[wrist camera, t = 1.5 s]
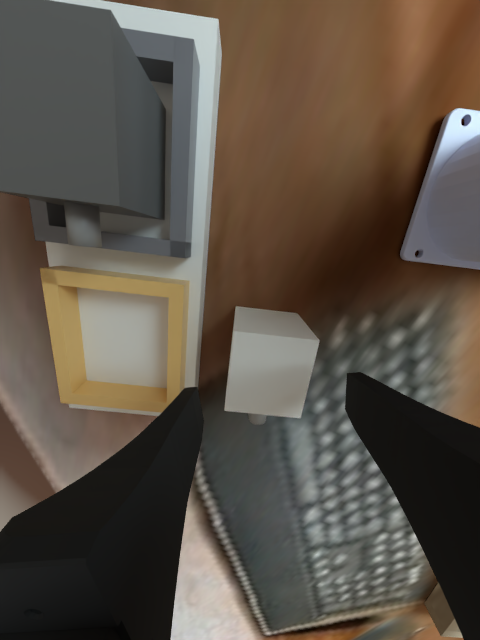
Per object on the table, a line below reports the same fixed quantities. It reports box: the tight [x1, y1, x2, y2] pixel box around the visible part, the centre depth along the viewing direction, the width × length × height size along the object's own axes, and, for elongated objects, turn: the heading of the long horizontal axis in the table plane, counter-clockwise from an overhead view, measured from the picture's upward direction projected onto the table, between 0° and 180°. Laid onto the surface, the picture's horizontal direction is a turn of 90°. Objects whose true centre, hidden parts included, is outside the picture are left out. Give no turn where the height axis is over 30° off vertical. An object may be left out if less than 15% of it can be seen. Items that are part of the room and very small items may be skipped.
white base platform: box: [29, 0, 222, 416], centre depth 14 cm, size 9×22×4 cm, turn 173°
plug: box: [224, 306, 320, 425], centre depth 15 cm, size 4×7×5 cm
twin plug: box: [0, 0, 166, 248], centre depth 10 cm, size 4×7×5 cm
